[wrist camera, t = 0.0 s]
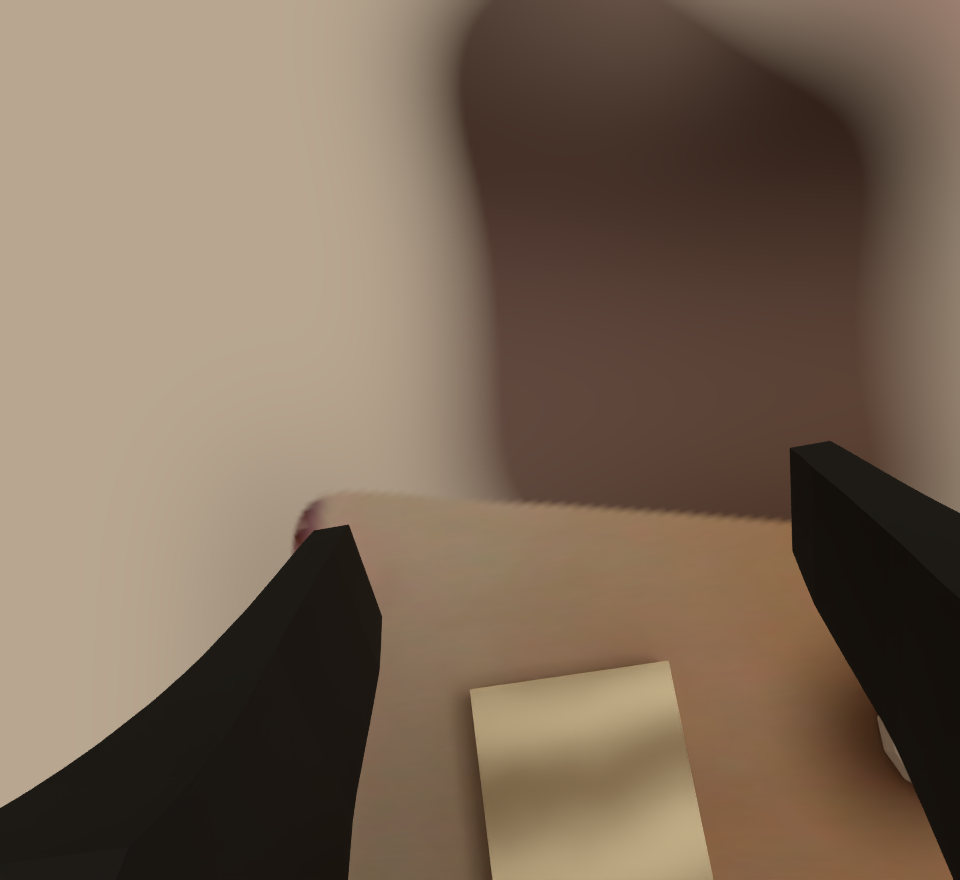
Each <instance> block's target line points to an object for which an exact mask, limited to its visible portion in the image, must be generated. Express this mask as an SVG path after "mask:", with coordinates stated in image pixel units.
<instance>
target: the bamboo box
mask: <svg viewBox="0 0 960 880" xmlns="http://www.w3.org/2000/svg"><path fill="white" fill-rule="evenodd" d="M470 695H471V704H472V712H473V720H474V729H475V737H476V746H477V754H478V762H479V771H480V779H481V787H482V796H483V804H484V812H485V821H486V829H487V838H488V846H489V854H490V863H491V871H492V879H493V880H713V876H712V871H711V866H710V861H709V857H708V852H707V847H706V842H705V837H704V832H703V827H702V822H701V817H700V812H699V808H698V803H697V798H696V793H695V788H694V783H693V778H692V773H691V768H690V764H689V759H688V754H687V749H686V744H685V739H684V734H683V729H682V724H681V719H680V715H679V710H678V705H677V700H676V695H675V690H674V685H673V680H672V675H671V670H670V666H669V661H662V662H656V663H649V664H642V665H635V666H628V667H621V668H614V669H607V670H600V671H593V672H586V673H579V674H573V675H566V676H559V677H552V678H545V679H538V680H531V681H524V682H517V683H510V684H503V685H496V686H490V687H483V688H476V689H470Z"/></svg>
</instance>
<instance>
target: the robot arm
mask: <svg viewBox="0 0 960 880" xmlns="http://www.w3.org/2000/svg"><path fill="white" fill-rule="evenodd" d="M790 473H791V474H790V475H791V513H792V551H793V553H794V556H795V558H796V561H797V563H798V566H799V569H800V571H801V574H802V576H803V579H804V581H805V583H806V586H807V588H808V591H809V593H810V595H811V598H812V600H813V602H814V605H815V606H816V608H817V610H818V612H819V614H820V615H821V617H822V619H823V621H824V622H825V624H826V626H827V628H828V629H829V631H830V633H831V635H832V636H833V638H834V640H835V642H836V643H837V645H838V647H839V648H840V650H841V652H842V654H843V655H844V657H845V659H846V660H847V662H848V664H849V666H850V667H851V669H852V671H853V672H854V674H855V676H856V678H857V679H858V681H859V683H860V684H861V686H862V688H863V690H864V691H865V693H866V695H867V696H868V698H869V700H870V702H871V703H872V705H873V707H874V708H875V710H876V712H877V714H878V715H879V717H880V719H881V720H882V722H883V724H884V726H885V728H886V730H887V732H888V734H889V736H890V737H891V739H892V741H893V743H894V745H895V747H896V749H897V751H898V753H899V756H900V758H901V760H902V762H903V765H904V767H905V769H906V771H907V773H908V776H909V778H910V780H911V782H912V785H913V787H914V789H915V791H916V793H917V796H918V798H919V800H920V802H921V805H922V807H923V809H924V811H925V814H926V816H927V818H928V821H929V823H930V825H931V828H932V830H933V832H934V835H935V837H936V839H937V842H938V844H939V846H940V849H941V851H942V854H943V856H944V858H945V861H946V863H947V865H948V868H949V870H950V872H951V875H952V877H953V880H960V513H958V512H957V511H955V510H953V509H951V508H949V507H947V506H945V505H943V504H941V503H939V502H937V501H935V500H934V499H932V498H930V497H928V496H926V495H924V494H922V493H920V492H919V491H917V490H915V489H913V488H911V487H909V486H908V485H906V484H904V483H903V482H901V481H899V480H897V479H896V478H894V477H892V476H890V475H889V474H887V473H885V472H883V471H882V470H880V469H878V468H876V467H875V466H873V465H871V464H870V463H868V462H866V461H864V460H863V459H861V458H859V457H858V456H856V455H854V454H852V453H851V452H849V451H847V450H846V449H844V448H842V447H840V446H838V445H837V444H835V443H833V442H831V441H827V442H821V443H815V444H810V445H804V446H799V447H793V448H790ZM381 630H382V615H381V612H380V610H379V607H378V604H377V601H376V599H375V596H374V593H373V590H372V587H371V585H370V582H369V579H368V576H367V574H366V571H365V568H364V565H363V563H362V560H361V557H360V554H359V552H358V549H357V546H356V543H355V540H354V538H353V535H352V532H351V529H350V527H349V525H343V526H338V527H332V528H326V529H320V530H315V531H313V532H312V533H311V534H310V535H309V537H308V538H307V539H306V540H305V541H304V542H303V543H302V544H301V546H300V547H299V548H298V549H297V550H296V551H295V553H294V554H293V555H292V556H291V557H290V559H289V560H288V561H287V562H286V564H285V565H284V566H283V567H282V568H281V569H280V571H279V572H278V573H277V574H276V575H275V577H274V578H273V579H272V580H271V581H270V582H269V584H268V585H267V586H266V587H265V588H264V590H263V591H262V592H261V593H260V594H259V595H258V596H257V598H256V599H255V600H254V601H253V602H252V603H251V605H250V606H249V607H248V608H247V609H246V610H245V612H243V614H242V615H241V616H240V617H239V618H238V619H237V620H236V621H235V622H234V623H233V624H232V625H231V626H230V628H228V629H227V631H226V632H225V633H224V634H223V635H222V636H221V637H220V638H219V639H218V640H217V641H216V642H215V643H214V644H213V646H211V648H210V649H209V650H208V651H207V652H206V653H205V654H204V655H203V656H202V657H201V658H200V659H199V660H198V661H197V662H196V663H195V664H193V665H192V666H191V667H190V668H189V669H188V670H187V671H186V672H185V673H184V674H183V675H182V676H181V677H180V678H179V679H177V680H176V681H175V682H174V683H173V684H172V685H171V686H169V687H168V688H167V689H166V690H165V691H164V692H163V693H162V694H160V695H159V696H158V697H157V698H156V699H155V700H154V701H152V702H151V703H150V704H149V705H147V706H146V707H145V708H144V709H142V710H141V711H140V712H138V713H137V714H136V715H135V716H134V717H132V718H131V719H130V720H128V721H127V722H126V723H124V724H123V725H122V726H121V727H119V728H118V729H117V730H115V731H114V732H113V733H112V734H110V735H109V736H108V737H106V738H105V739H104V740H103V741H102V742H100V743H99V744H97V745H96V746H95V747H93V748H92V749H90V750H89V751H88V752H86V753H85V754H83V755H82V756H81V757H79V758H78V759H76V760H75V761H73V762H72V763H70V764H69V765H68V766H66V767H65V768H63V769H62V770H60V771H59V772H57V773H56V774H54V775H53V776H51V777H50V778H48V779H46V780H45V781H43V782H42V783H40V784H39V785H37V786H36V787H34V788H33V789H31V790H29V791H28V792H26V793H25V794H23V795H21V796H20V797H18V798H17V799H15V800H13V801H11V802H10V803H8V804H6V805H5V806H3V807H1V808H0V880H348V872H349V860H350V848H351V835H352V823H353V815H354V808H355V801H356V794H357V788H358V783H359V778H360V773H361V767H362V762H363V757H364V752H365V746H366V741H367V736H368V731H369V725H370V720H371V715H372V709H373V704H374V698H375V693H376V688H377V682H378V676H379V669H380V653H381Z"/></svg>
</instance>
